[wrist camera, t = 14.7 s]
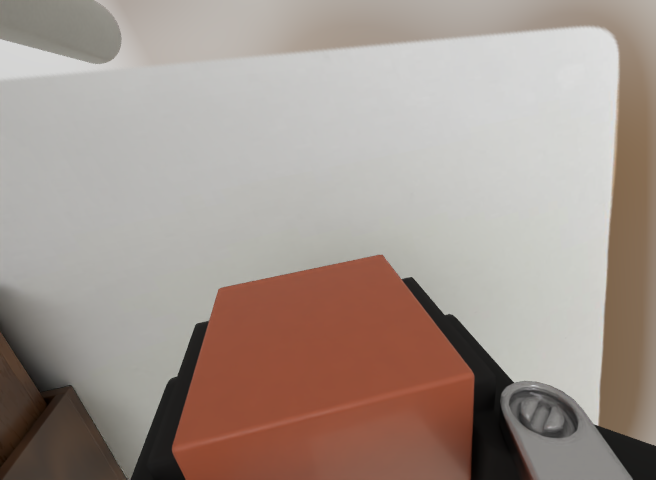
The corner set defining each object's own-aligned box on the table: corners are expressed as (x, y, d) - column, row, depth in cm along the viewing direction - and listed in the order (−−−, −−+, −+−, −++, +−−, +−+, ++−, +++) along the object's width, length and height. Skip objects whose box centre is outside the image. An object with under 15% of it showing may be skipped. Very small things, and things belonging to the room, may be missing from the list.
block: (256, 409, 11) (247, 609, 6) (217, 287, 9) (168, 450, 5) (393, 375, 11) (471, 542, 7) (382, 253, 9) (477, 373, 5)
